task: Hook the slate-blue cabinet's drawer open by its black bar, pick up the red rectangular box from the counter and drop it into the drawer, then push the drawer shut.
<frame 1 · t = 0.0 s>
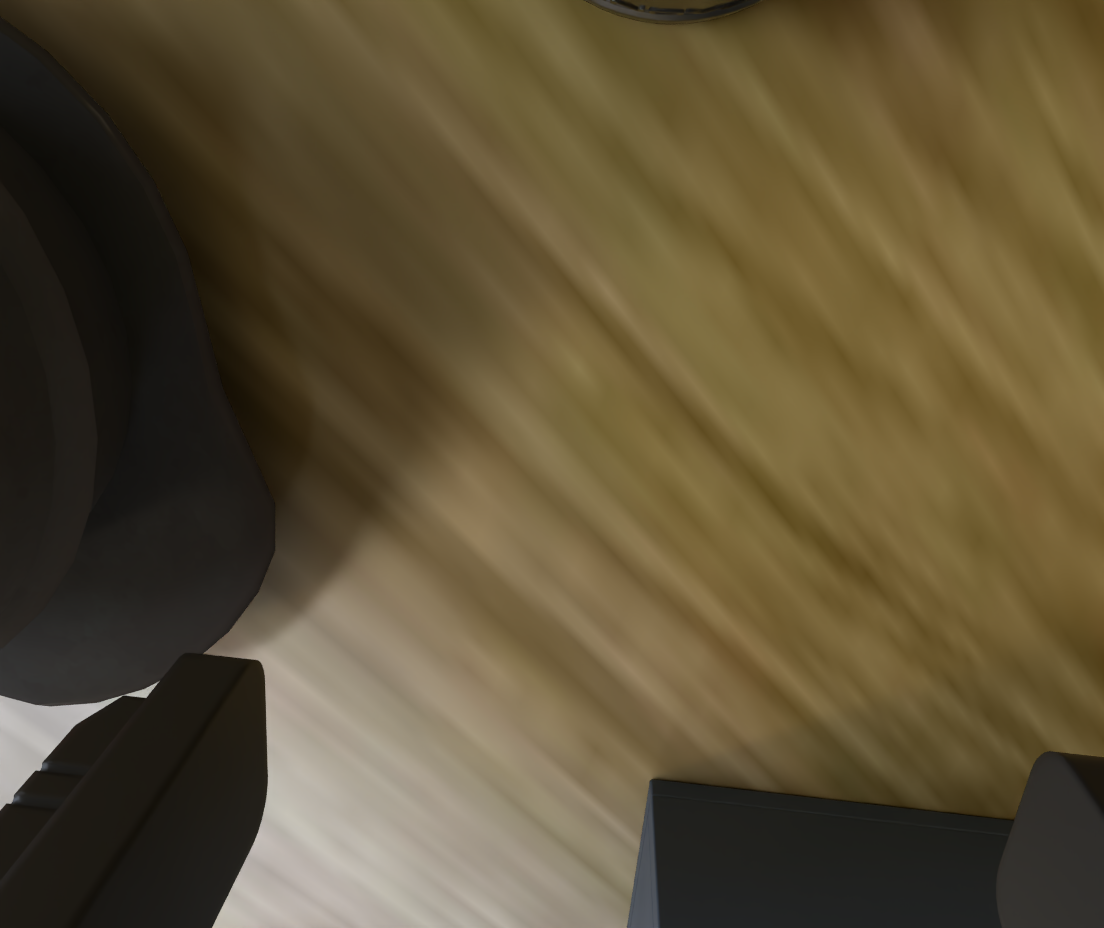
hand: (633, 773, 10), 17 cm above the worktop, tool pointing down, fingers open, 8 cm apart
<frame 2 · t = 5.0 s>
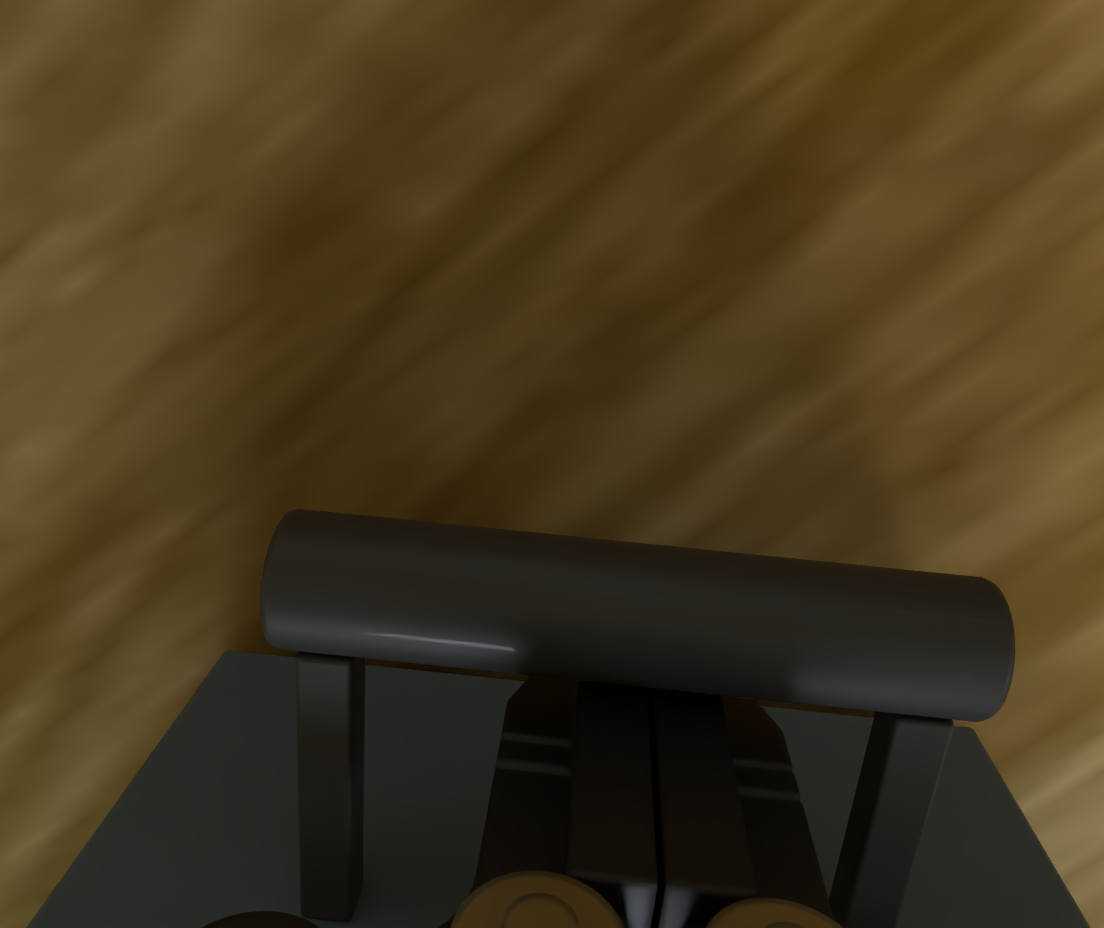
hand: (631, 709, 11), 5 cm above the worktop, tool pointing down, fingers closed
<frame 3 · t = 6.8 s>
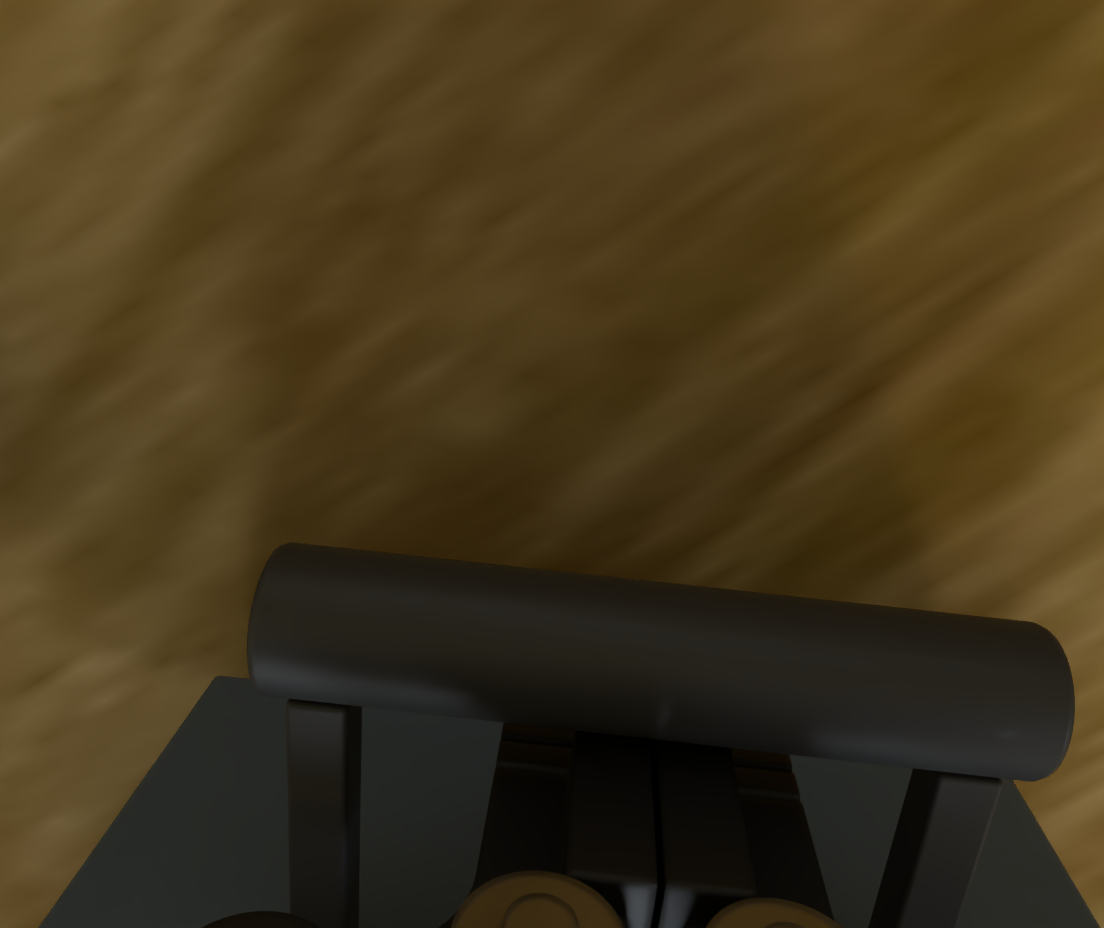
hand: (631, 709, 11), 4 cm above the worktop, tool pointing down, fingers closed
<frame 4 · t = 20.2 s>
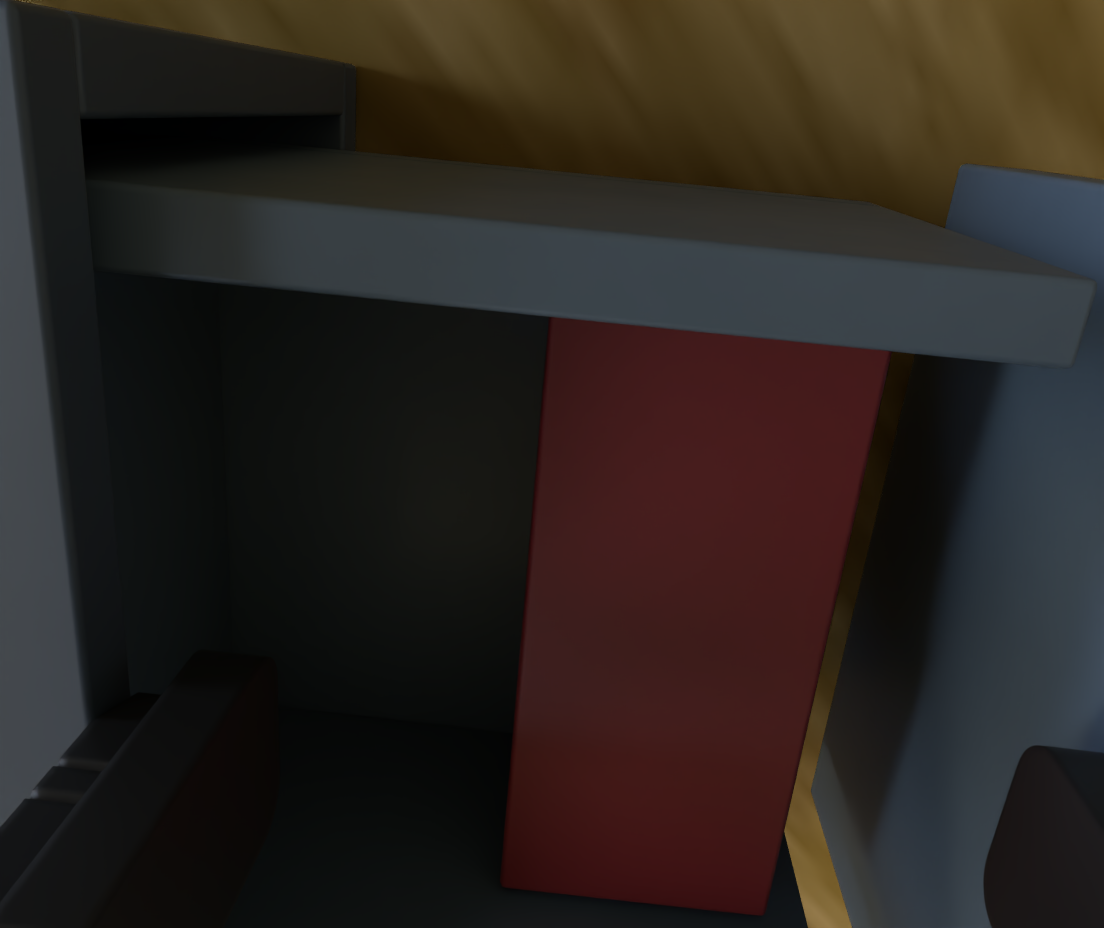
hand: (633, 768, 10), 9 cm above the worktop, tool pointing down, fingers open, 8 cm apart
drawer: (731, 607, 13), point 5 cm above the worktop, slide at 9.8 cm, touching red rectangular box
red rectangular box: (656, 520, 16), point 2 cm above the worktop, touching drawer
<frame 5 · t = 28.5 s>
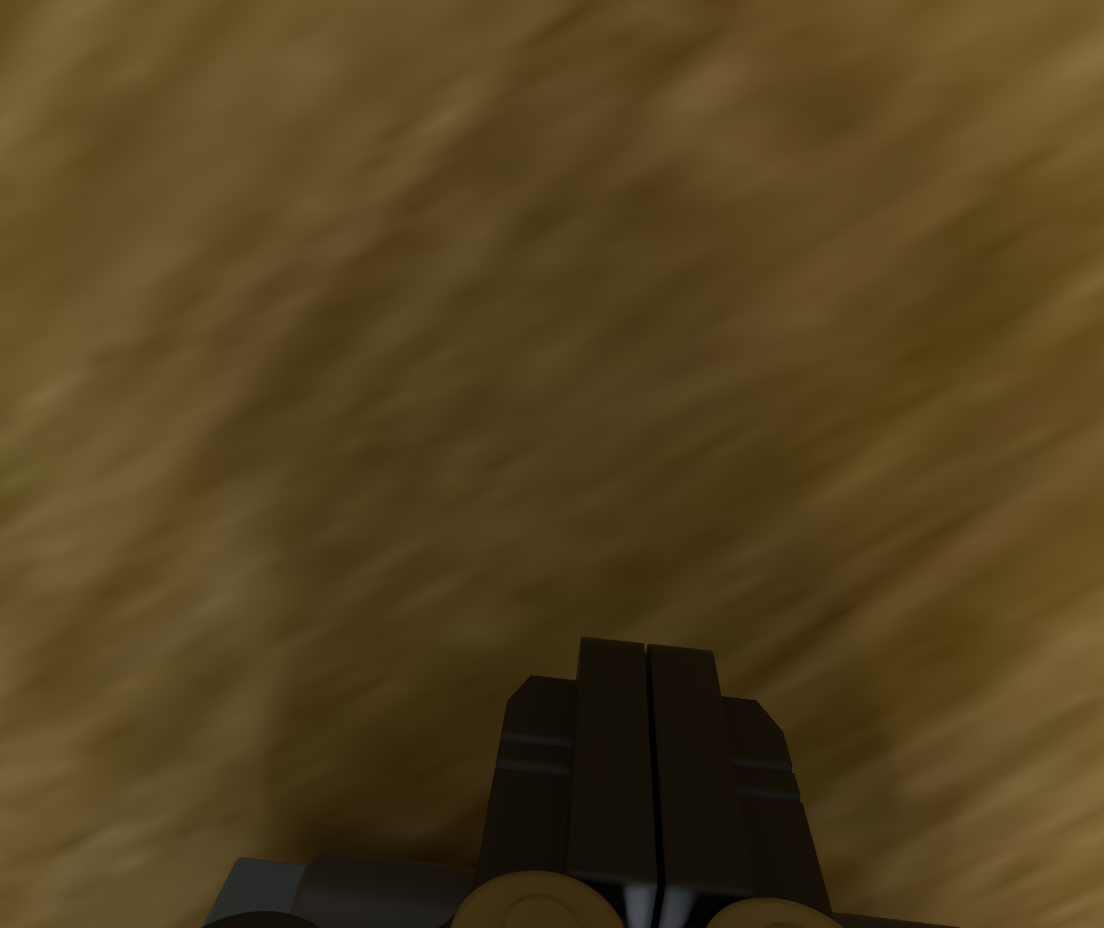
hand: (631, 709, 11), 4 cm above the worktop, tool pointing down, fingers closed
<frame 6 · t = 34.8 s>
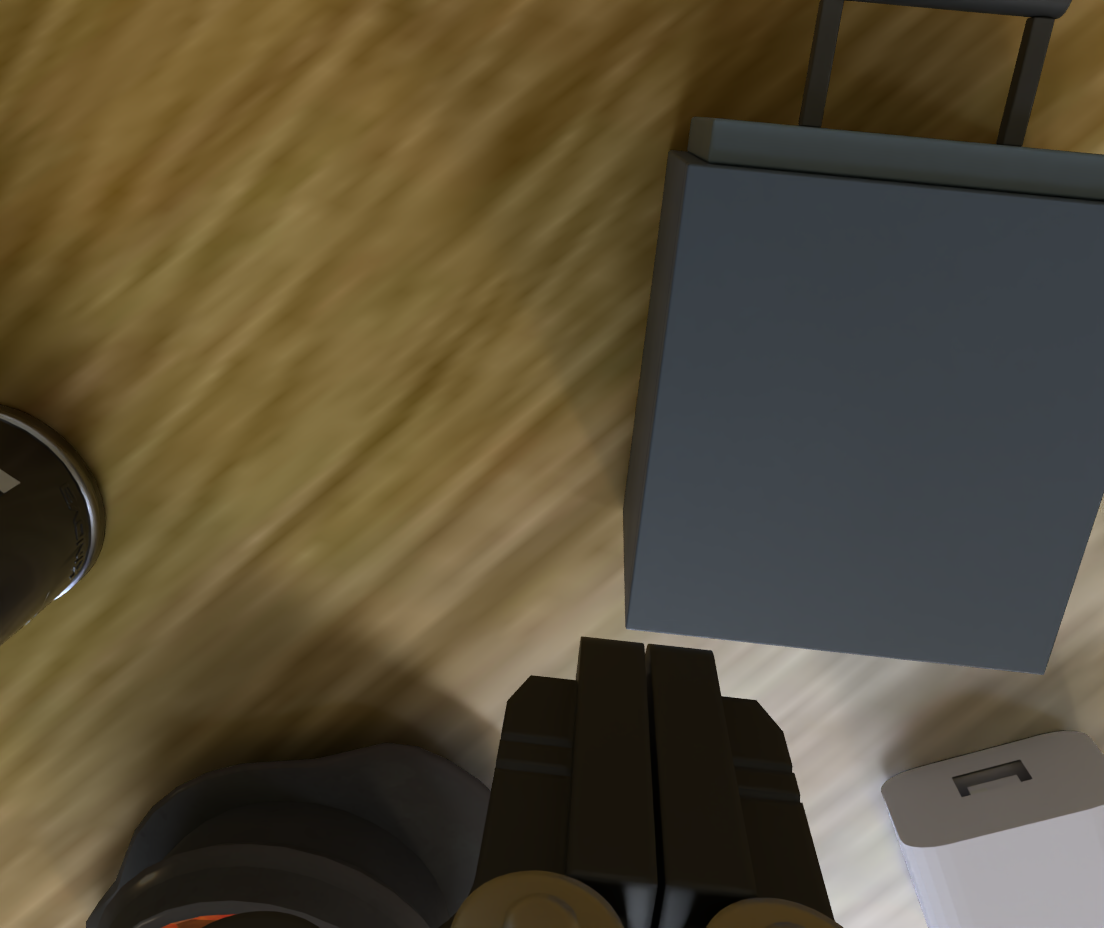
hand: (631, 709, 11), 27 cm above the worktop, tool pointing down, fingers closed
casserole: (318, 881, 48), on the worktop
drawer: (870, 274, 30), point 5 cm above the worktop, slide at 0.0 cm, touching red rectangular box
cabinet: (816, 361, 36), on the worktop
charger: (1010, 868, 45), on the worktop
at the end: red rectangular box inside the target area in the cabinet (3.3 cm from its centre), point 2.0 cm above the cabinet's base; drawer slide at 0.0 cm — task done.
